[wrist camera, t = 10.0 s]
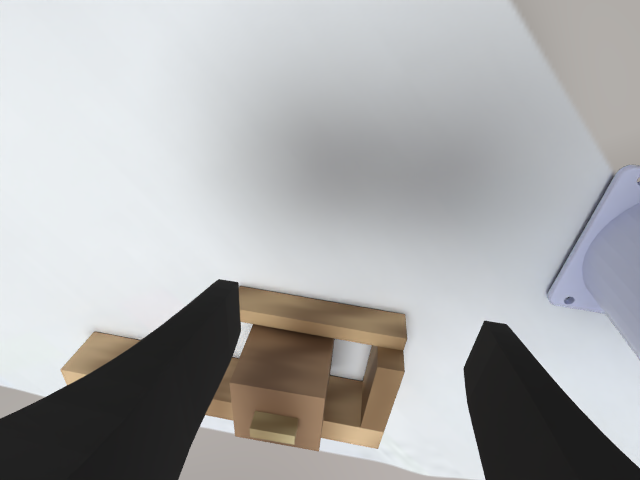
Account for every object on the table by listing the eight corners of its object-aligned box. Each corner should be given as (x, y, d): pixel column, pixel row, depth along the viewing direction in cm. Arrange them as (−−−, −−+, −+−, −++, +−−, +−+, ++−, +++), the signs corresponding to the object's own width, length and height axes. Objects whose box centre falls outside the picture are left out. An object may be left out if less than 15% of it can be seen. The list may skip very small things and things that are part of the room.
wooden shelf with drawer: (405, 314, 23) (408, 359, 20) (378, 402, 28) (377, 448, 25) (69, 256, 24) (26, 291, 21) (100, 349, 29) (68, 387, 26)
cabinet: (337, 315, 24) (322, 416, 18) (330, 366, 26) (316, 469, 20) (261, 304, 24) (222, 399, 18) (262, 356, 27) (229, 453, 21)
